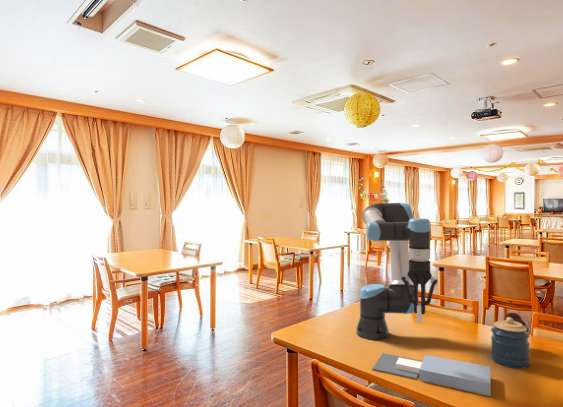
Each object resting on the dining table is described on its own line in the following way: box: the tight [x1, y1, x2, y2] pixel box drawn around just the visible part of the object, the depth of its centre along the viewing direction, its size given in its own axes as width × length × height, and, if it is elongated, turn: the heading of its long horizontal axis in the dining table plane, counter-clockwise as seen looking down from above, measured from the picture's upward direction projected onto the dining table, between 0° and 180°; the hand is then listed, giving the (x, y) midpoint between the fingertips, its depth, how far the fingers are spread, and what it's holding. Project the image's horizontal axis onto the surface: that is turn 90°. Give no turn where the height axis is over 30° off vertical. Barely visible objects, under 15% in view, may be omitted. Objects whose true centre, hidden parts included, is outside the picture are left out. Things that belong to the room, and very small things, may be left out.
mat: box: [371, 352, 423, 380], centre depth 141 cm, size 16×16×1 cm
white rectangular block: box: [396, 358, 422, 374], centre depth 138 cm, size 9×6×2 cm, turn 60°
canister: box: [490, 317, 531, 369], centre depth 144 cm, size 13×13×18 cm
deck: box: [418, 354, 492, 397], centre depth 130 cm, size 22×14×4 cm, turn 61°
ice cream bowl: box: [502, 312, 529, 334], centre depth 157 cm, size 11×11×15 cm
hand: (419, 322), depth 137 cm, fingers closed
